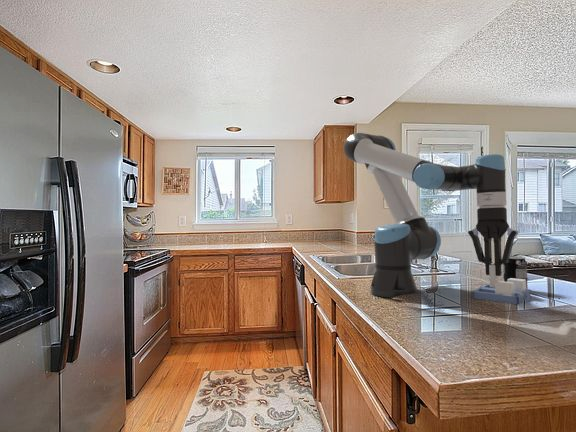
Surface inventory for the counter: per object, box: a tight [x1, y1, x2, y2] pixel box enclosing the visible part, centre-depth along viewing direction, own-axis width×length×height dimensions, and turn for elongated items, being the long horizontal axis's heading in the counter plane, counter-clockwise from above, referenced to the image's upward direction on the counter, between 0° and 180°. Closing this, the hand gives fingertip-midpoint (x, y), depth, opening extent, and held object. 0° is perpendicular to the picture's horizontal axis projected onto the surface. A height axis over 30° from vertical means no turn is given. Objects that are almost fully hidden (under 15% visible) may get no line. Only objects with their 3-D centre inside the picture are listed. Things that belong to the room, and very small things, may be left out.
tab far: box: [507, 278, 526, 292], centre depth 102 cm, size 4×4×5 cm
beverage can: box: [502, 255, 529, 289], centre depth 111 cm, size 7×7×12 cm
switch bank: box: [471, 283, 531, 305], centre depth 102 cm, size 12×14×3 cm
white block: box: [495, 280, 515, 296], centre depth 98 cm, size 4×4×5 cm
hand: (494, 286), depth 100 cm, fingers closed
